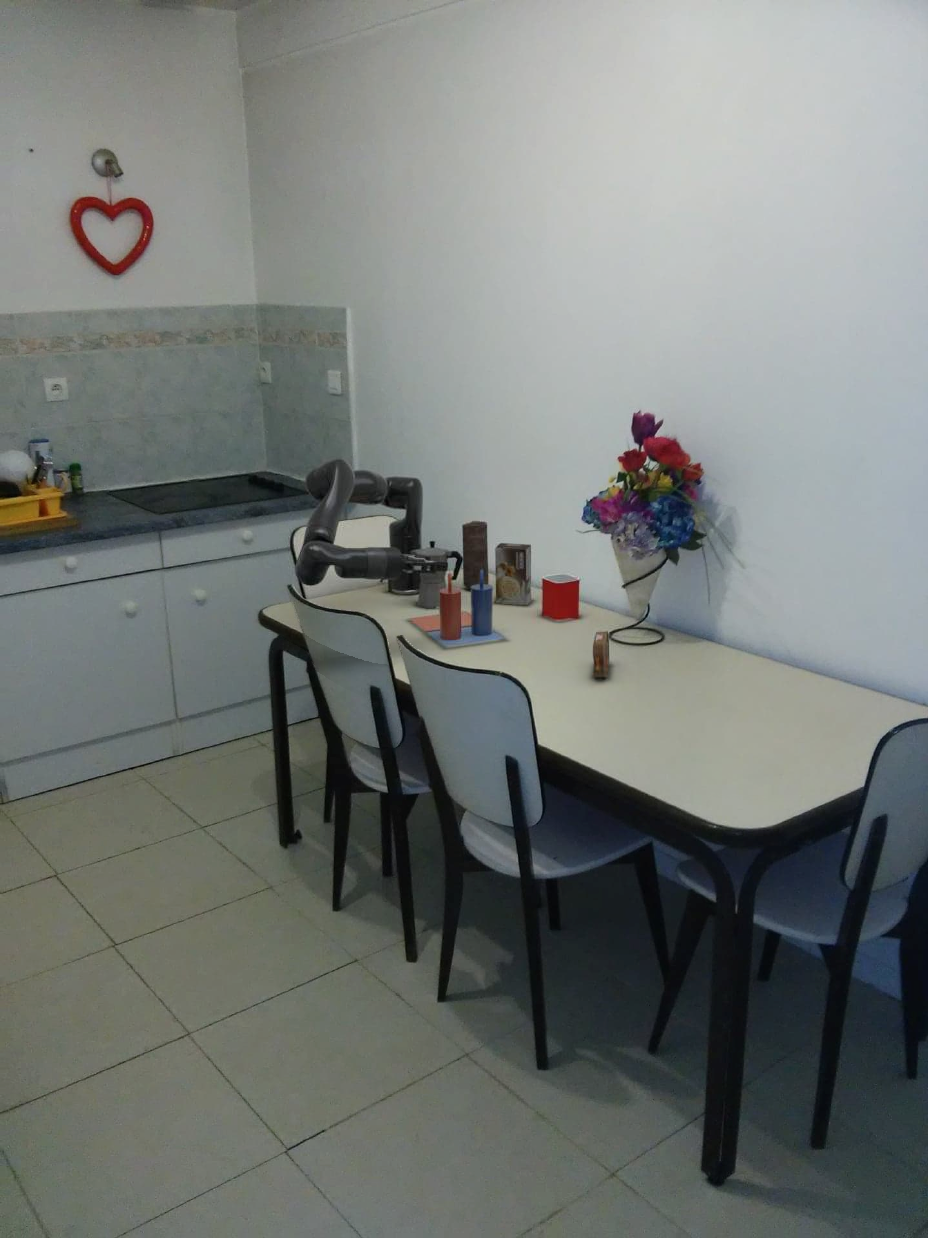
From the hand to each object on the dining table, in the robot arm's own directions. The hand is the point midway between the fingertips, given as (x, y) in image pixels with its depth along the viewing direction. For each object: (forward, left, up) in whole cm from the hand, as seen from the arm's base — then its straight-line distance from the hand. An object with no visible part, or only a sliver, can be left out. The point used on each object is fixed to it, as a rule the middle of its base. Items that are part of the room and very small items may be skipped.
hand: (438, 563), depth 258 cm
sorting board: (0, +11, -20) cm, 23 cm away
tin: (+43, -6, -21) cm, 48 cm away
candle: (-10, +50, -21) cm, 55 cm away
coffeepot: (-14, +31, -20) cm, 40 cm away
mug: (+20, +33, -20) cm, 44 cm away
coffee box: (+5, +41, -20) cm, 46 cm away
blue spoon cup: (+7, +10, -20) cm, 23 cm away
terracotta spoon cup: (+1, +4, -20) cm, 20 cm away
